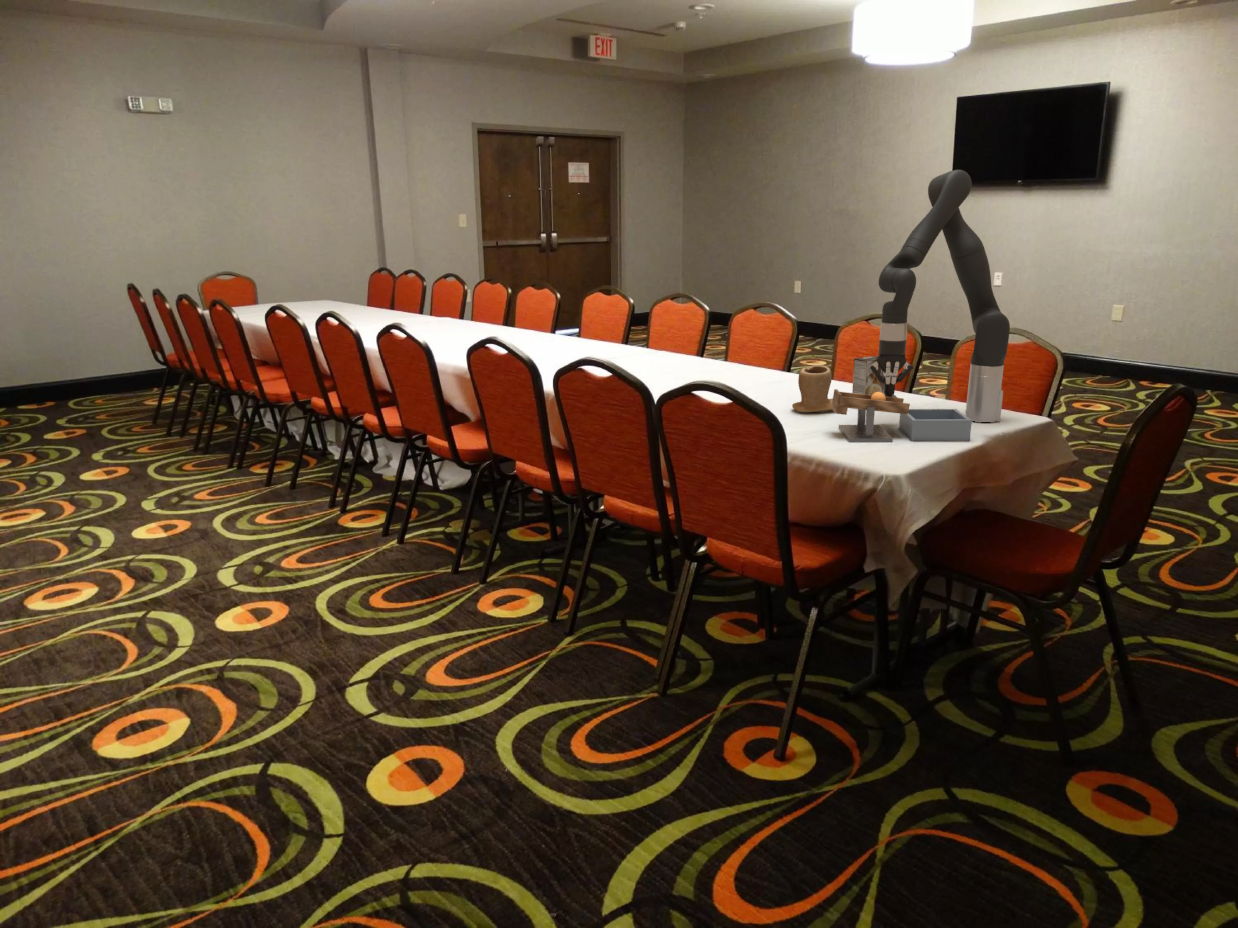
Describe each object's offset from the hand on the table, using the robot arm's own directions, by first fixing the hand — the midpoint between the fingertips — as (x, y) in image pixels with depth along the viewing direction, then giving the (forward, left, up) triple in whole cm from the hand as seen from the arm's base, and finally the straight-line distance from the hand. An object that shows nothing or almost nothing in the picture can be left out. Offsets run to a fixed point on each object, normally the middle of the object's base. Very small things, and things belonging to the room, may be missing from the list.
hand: (888, 396), depth 250 cm
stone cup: (+18, -20, -10) cm, 28 cm away
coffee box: (0, -28, -10) cm, 29 cm away
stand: (+9, +10, -9) cm, 16 cm away
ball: (+5, +10, +1) cm, 12 cm away
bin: (-11, +10, -9) cm, 18 cm away
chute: (+8, +5, -3) cm, 10 cm away
